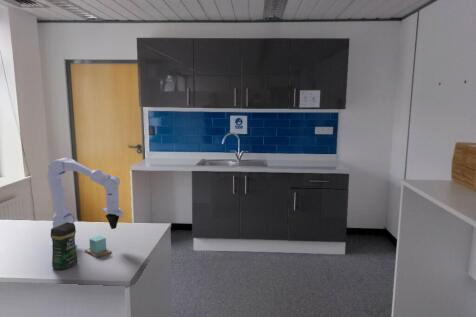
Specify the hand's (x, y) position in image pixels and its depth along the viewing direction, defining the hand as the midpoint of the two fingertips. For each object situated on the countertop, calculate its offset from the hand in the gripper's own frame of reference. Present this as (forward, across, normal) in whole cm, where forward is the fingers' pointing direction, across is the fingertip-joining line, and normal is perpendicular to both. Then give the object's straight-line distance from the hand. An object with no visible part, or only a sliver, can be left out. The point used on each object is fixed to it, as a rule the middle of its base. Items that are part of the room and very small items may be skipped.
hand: (113, 228), depth 160 cm
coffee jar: (+10, 0, +24) cm, 26 cm away
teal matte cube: (+9, +1, +8) cm, 12 cm away
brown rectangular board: (+10, +1, +8) cm, 13 cm away
